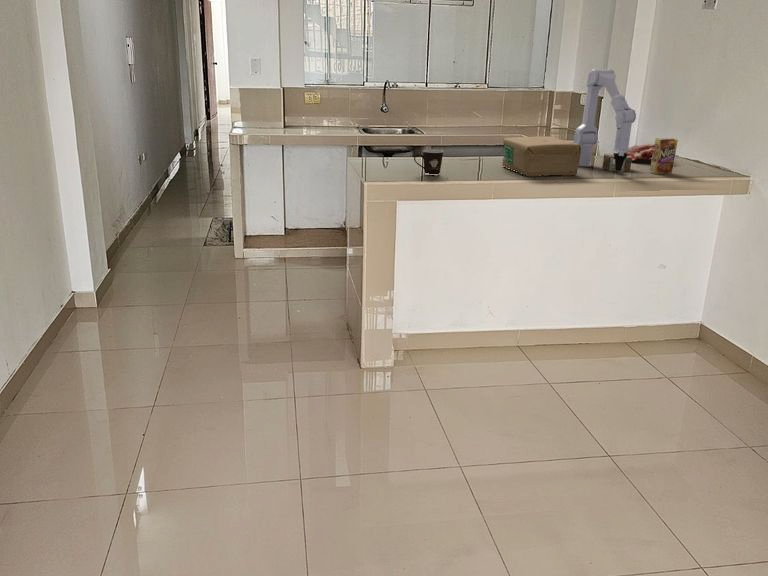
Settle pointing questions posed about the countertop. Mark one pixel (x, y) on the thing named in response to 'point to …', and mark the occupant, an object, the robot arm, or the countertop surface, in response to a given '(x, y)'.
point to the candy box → (663, 156)
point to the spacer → (612, 164)
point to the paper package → (541, 156)
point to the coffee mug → (431, 161)
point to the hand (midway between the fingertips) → (618, 170)
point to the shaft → (615, 169)
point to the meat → (641, 151)
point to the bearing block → (608, 157)
